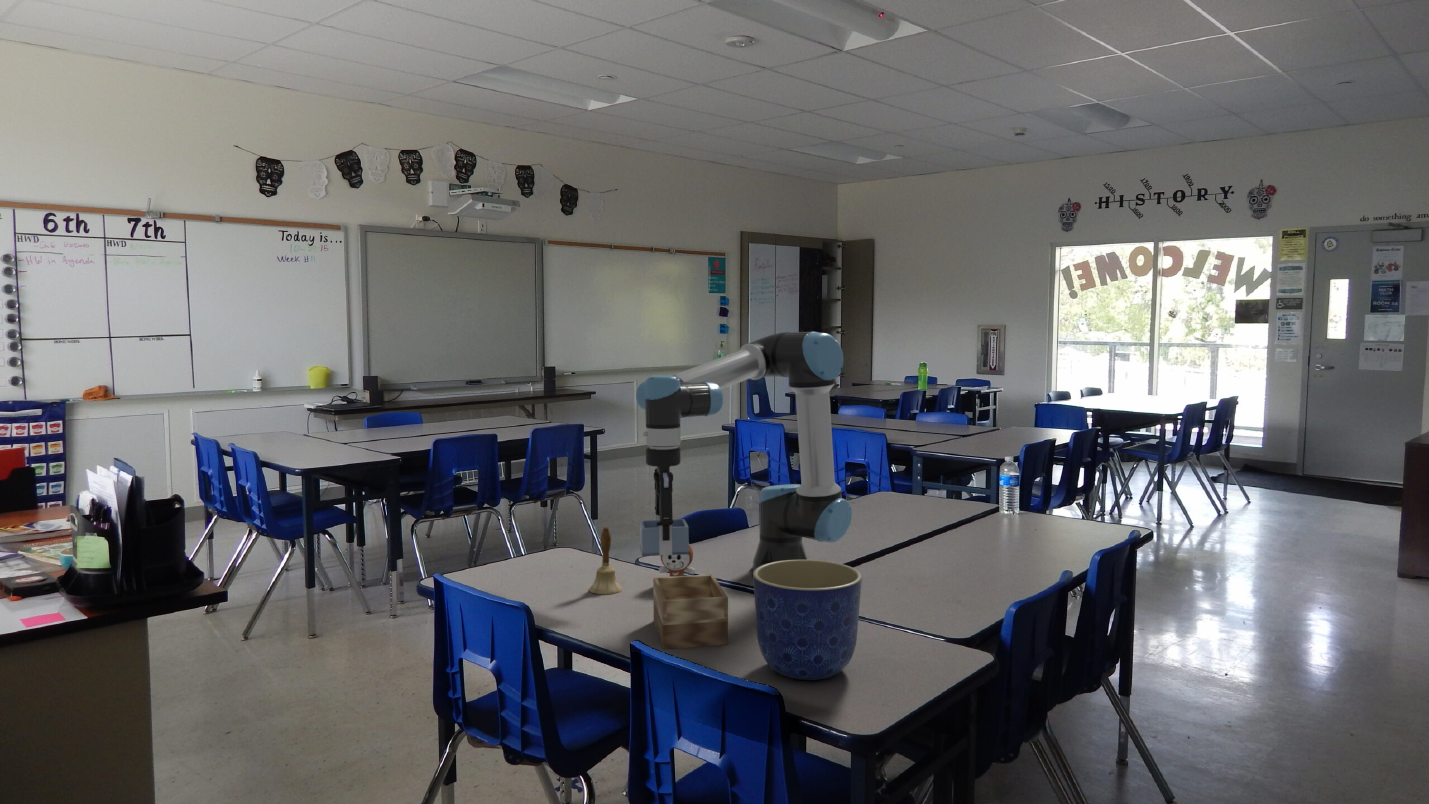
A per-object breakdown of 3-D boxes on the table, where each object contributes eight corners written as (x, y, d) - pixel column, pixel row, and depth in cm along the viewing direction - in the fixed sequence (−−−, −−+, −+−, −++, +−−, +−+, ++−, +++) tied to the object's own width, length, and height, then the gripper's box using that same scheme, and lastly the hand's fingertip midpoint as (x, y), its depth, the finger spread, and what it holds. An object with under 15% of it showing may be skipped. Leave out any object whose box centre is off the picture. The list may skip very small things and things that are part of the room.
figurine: (655, 590, 223) (655, 543, 222) (661, 580, 232) (661, 535, 231) (692, 591, 222) (691, 544, 221) (696, 581, 231) (696, 536, 230)
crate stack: (713, 617, 202) (713, 574, 201) (728, 644, 185) (728, 597, 184) (653, 621, 200) (653, 577, 199) (663, 648, 183) (662, 601, 182)
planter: (883, 674, 169) (884, 576, 167) (801, 701, 157) (801, 596, 155) (811, 643, 186) (811, 554, 184) (731, 665, 174) (731, 569, 172)
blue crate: (684, 545, 200) (684, 519, 199) (688, 554, 192) (688, 526, 191) (639, 547, 198) (639, 520, 198) (642, 556, 191) (642, 528, 190)
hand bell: (625, 585, 228) (624, 524, 226) (618, 595, 219) (617, 531, 218) (593, 584, 228) (592, 523, 227) (585, 594, 220) (584, 530, 219)
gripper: (642, 441, 203) (643, 539, 205) (649, 453, 182) (650, 562, 184) (675, 440, 204) (675, 537, 206) (685, 453, 183) (686, 561, 185)
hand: (663, 549), depth 195 cm, fingers closed on blue crate, 8 cm apart
